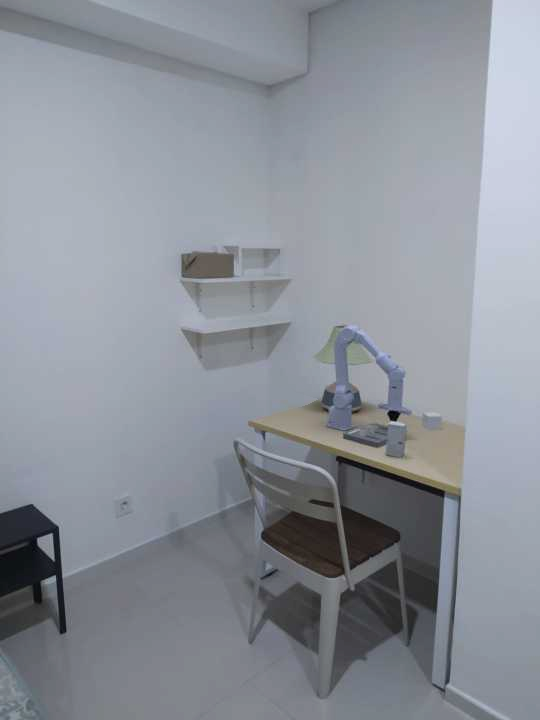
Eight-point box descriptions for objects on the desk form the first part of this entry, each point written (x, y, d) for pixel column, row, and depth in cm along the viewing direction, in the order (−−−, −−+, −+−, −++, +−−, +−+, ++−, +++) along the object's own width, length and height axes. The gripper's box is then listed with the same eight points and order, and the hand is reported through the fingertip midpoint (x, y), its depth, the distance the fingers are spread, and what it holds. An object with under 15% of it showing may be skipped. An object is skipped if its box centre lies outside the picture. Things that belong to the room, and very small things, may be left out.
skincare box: (385, 455, 204) (387, 423, 201) (389, 451, 207) (390, 420, 205) (401, 458, 201) (403, 426, 199) (405, 454, 204) (407, 423, 202)
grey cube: (427, 430, 236) (428, 416, 235) (422, 426, 242) (422, 412, 241) (441, 429, 237) (442, 416, 236) (435, 425, 242) (435, 412, 241)
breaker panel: (343, 438, 222) (343, 425, 221) (373, 427, 238) (373, 415, 237) (377, 447, 212) (378, 434, 211) (406, 435, 227) (407, 422, 226)
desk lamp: (301, 408, 266) (303, 322, 259) (340, 399, 285) (343, 319, 278) (342, 420, 248) (346, 328, 240) (380, 410, 266) (385, 324, 259)
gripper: (374, 394, 226) (372, 426, 229) (406, 401, 216) (404, 434, 219) (383, 392, 231) (382, 423, 234) (415, 398, 222) (413, 430, 224)
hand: (393, 428), depth 227 cm, fingers closed, pressing on tripped breaker handle
